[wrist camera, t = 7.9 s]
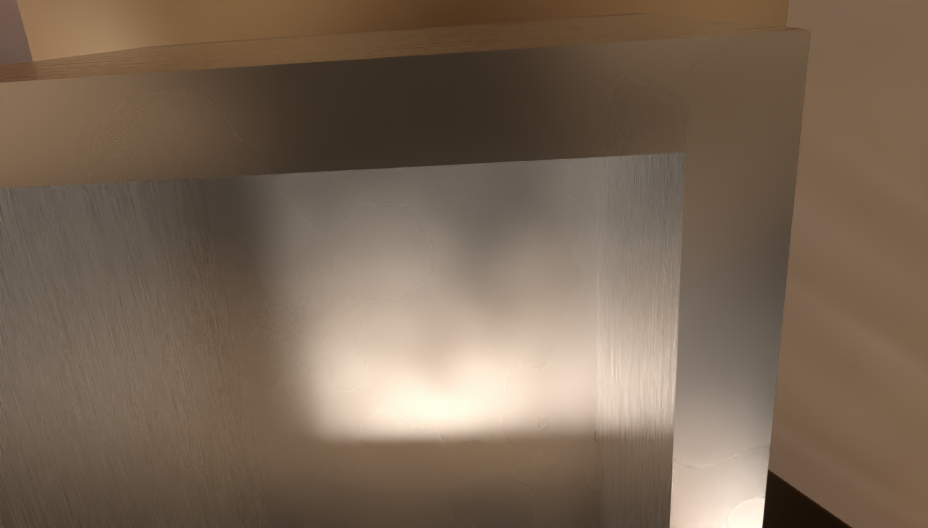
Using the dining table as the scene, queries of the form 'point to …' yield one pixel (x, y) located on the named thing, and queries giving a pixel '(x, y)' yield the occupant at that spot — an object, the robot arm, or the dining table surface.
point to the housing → (399, 277)
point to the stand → (319, 18)
